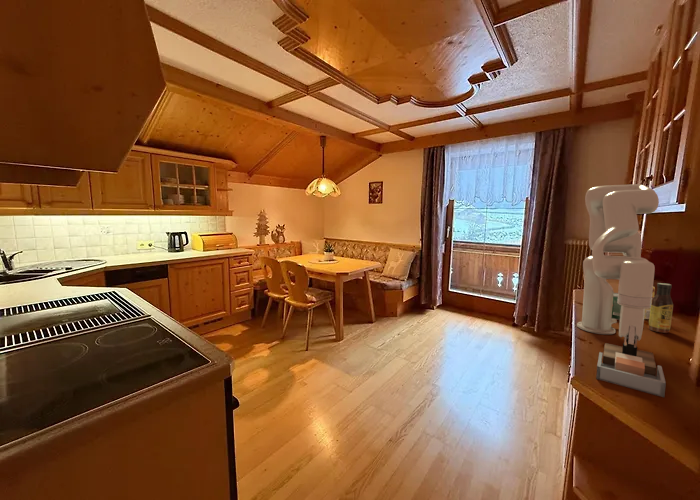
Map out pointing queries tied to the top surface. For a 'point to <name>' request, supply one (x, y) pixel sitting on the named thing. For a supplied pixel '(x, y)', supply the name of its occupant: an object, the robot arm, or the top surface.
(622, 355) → the cream tile
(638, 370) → the terracotta tile
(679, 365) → the top surface
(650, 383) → the tray
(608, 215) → the robot arm
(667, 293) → the sauce bottle
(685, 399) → the top surface
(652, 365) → the walnut board
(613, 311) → the canned tomato
